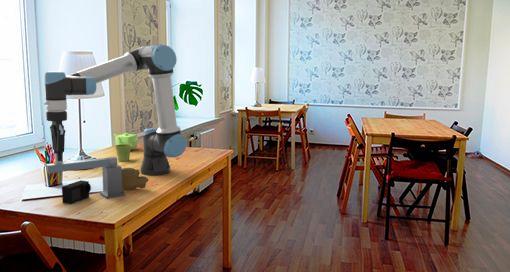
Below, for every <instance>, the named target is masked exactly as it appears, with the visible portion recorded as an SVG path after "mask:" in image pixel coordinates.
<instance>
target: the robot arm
mask: <svg viewBox="0 0 510 272" xmlns="http://www.w3.org/2000/svg"><path fill="white" fill-rule="evenodd" d="M177 60H178V58H177V55H176V52H175V51H174V49H173V48H172V47H170V46H169V45H166V44H146V45H142V46H141V47H138V48H135V49H132V50H130V51H127V52H125V53H124V55H123V56H120V57H116V58H113V59H110V60H107V61H105V62H102V63H99V64H97V65H93V66H90V67H88V68H84V69H82V70H79V71H76V72H73V73H70V74H66V72H63V71H47V72H45V73H44V82H43V83H44V92H45V102H44V106H45V109H46V110H47V111H46V112H45V115H46V116H45V117H46V121H48V122H51V125H50V126H49V130H50V136H51V144H52V150H53V154H54V163H63V162H64V154H63V153H64V152H65V141H66V139H65V136H66V129H65V125H63V122H65V121H66V122H67V120H68V112H67V110H68V102H67V96H92V95H94V94H95V93H96V92H97V84H99V83H101V82H104V81H106V80H110V79H112V78H115V77H118V76H121V75H123V74H126V73H129V72H133V73H135V72H137V71H144V70H147V74H148V77H150V78H151V79H152V86H153V93H154V94H153V95H154V100H155V107H156V108H155V109H156V113H157V114H156V117H157V122H158V127H152V128H151V127H150V128H145V129H144V130H143V135H142V138H143V160H142V162H141V164H140V165H141V166H140V169H139V172H140V174H142V175H146V176H160V175H161V176H162V175H166V174H170V172H171V166H170V163H169V160H168V158H173V159H174V158H178V157H180V156H182V155H183V154H184V152H185V150H186V148H187V146H188V145H187V143H188V142H187V139H186V137H184V135H182V132H181V127H180V126H178V125H177V124H178V122H177V117H176V109H175V107H176V106H175V100H174V92H173V83H172V76H173V74H174V69H175V65H176V64H177Z"/></svg>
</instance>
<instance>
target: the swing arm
mask: <svg viewBox="0 0 510 272" xmlns="http://www.w3.org/2000/svg"><path fill="white" fill-rule="evenodd" d="M116 165H118V156H107V157H100V158H93V159H83V160H75V161H73V160H72V161H65V162H64V161H63V163H55V162H54V163H46V165H45V167H46V168H45V169H46V170H45V171H46V173H47V174H53V173H54V174H55V173H64V172H72V171H80V170H88V169H97V168H102V167H106V166H116Z"/></svg>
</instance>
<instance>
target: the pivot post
mask: <svg viewBox="0 0 510 272" xmlns="http://www.w3.org/2000/svg"><path fill="white" fill-rule="evenodd" d="M101 168H102V169H101V170H102V190H101V191H99V194H100V195H101V196H103V197H104V198H105V199H111V198H112V199H113V198H118V197H123V196H124V197H125V196H126V192H124V191H123V189H122V166H121V165H120V164H117V165H116V166H106V167H101Z"/></svg>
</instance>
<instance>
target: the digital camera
mask: <svg viewBox="0 0 510 272" xmlns="http://www.w3.org/2000/svg"><path fill="white" fill-rule="evenodd" d="M91 188H92V186H91V184H90V183H89V181H87V180H82V179H81V180H78V181H74V182H72V183H69V184H65V185H63V186H61V194H62V195H61V196H62V197H61V199H62V204H65V205H73V204H76V203H78V202H82V201H83V200H86V199H89V198H90V192H91V190H92V189H91Z"/></svg>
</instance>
